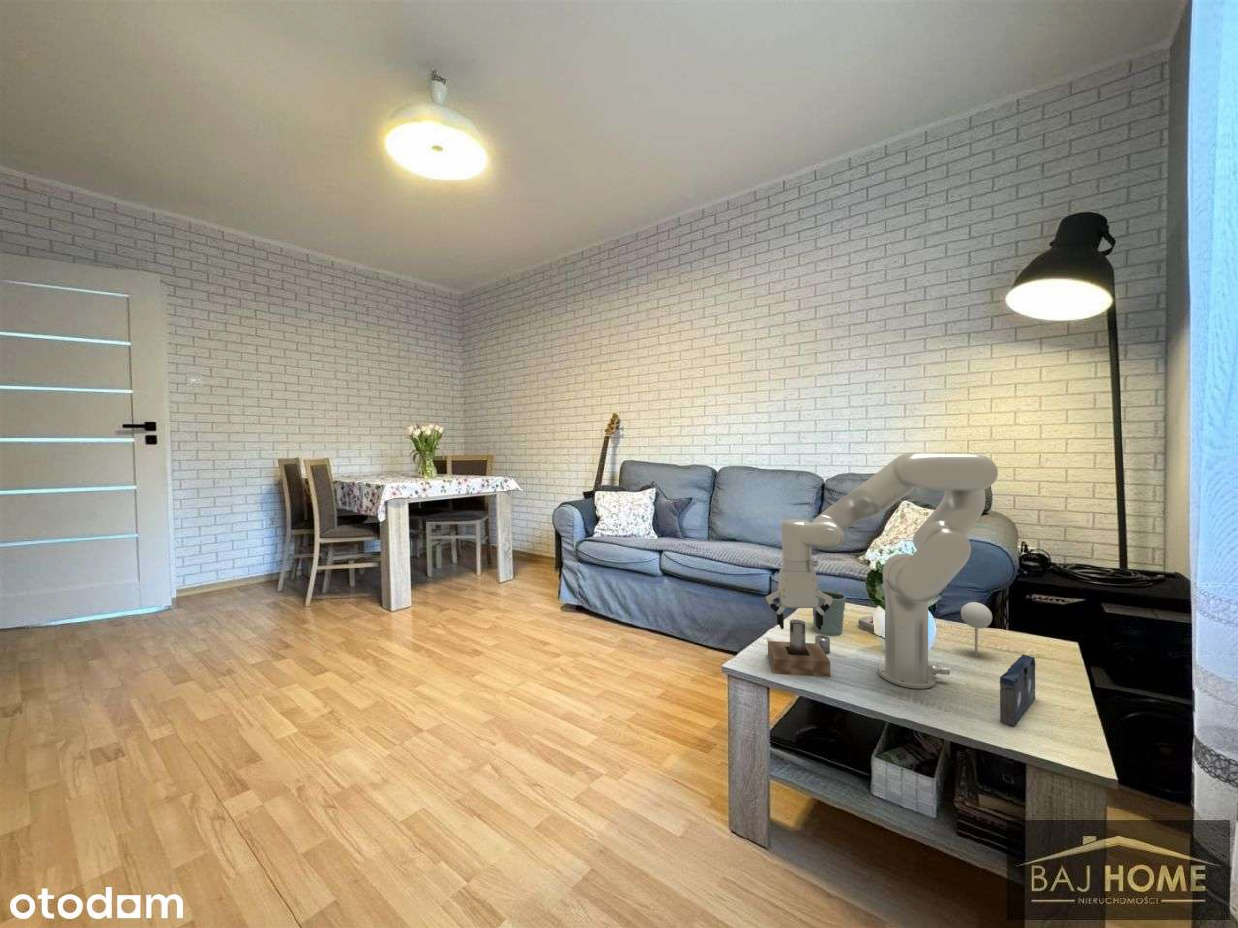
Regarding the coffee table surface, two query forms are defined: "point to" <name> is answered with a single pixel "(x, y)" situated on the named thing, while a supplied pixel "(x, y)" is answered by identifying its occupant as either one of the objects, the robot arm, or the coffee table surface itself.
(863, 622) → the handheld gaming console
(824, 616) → the grey green cup
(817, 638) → the short pin
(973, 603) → the lollipop
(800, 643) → the tall pin
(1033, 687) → the vhs cassette tape
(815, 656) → the hole block
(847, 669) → the coffee table surface
